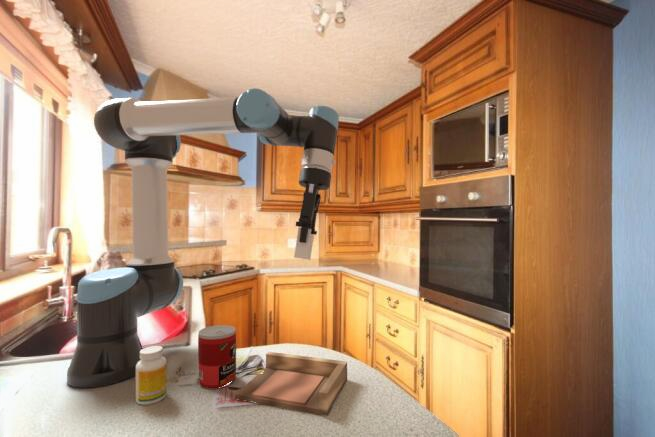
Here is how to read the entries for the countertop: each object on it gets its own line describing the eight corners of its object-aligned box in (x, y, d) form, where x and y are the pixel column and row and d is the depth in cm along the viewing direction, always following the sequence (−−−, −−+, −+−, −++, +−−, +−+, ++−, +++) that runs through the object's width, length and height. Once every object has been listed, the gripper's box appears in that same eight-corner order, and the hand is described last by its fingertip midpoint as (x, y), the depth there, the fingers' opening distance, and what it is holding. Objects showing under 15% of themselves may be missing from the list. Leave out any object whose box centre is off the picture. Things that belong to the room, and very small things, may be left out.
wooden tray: (234, 399, 64) (234, 378, 64) (269, 368, 77) (269, 351, 77) (327, 416, 58) (326, 393, 58) (347, 380, 71) (347, 361, 71)
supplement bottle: (130, 400, 64) (130, 350, 64) (157, 388, 68) (157, 342, 69) (144, 409, 61) (144, 357, 61) (171, 396, 65) (171, 347, 65)
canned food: (225, 391, 67) (225, 337, 67) (190, 387, 69) (190, 334, 69) (242, 374, 75) (242, 325, 75) (210, 371, 76) (210, 323, 76)
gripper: (332, 156, 67) (317, 260, 64) (331, 185, 91) (320, 261, 89) (295, 151, 67) (279, 255, 64) (304, 181, 92) (292, 257, 89)
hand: (302, 258), depth 76 cm, fingers open, 13 cm apart
